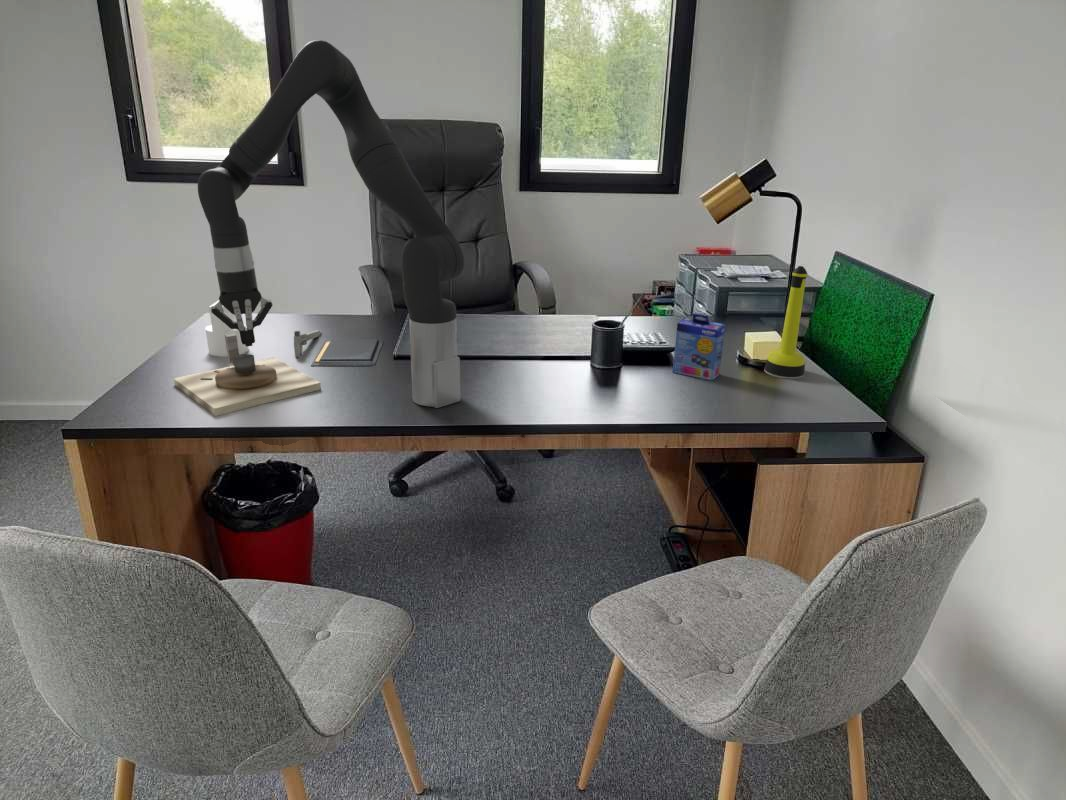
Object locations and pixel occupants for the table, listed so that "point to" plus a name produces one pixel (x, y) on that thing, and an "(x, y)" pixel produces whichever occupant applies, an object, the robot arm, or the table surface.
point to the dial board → (236, 399)
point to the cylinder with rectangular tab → (221, 334)
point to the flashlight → (790, 334)
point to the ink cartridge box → (698, 347)
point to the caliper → (303, 340)
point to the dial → (243, 369)
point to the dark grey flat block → (348, 353)
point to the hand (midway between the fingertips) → (248, 345)
